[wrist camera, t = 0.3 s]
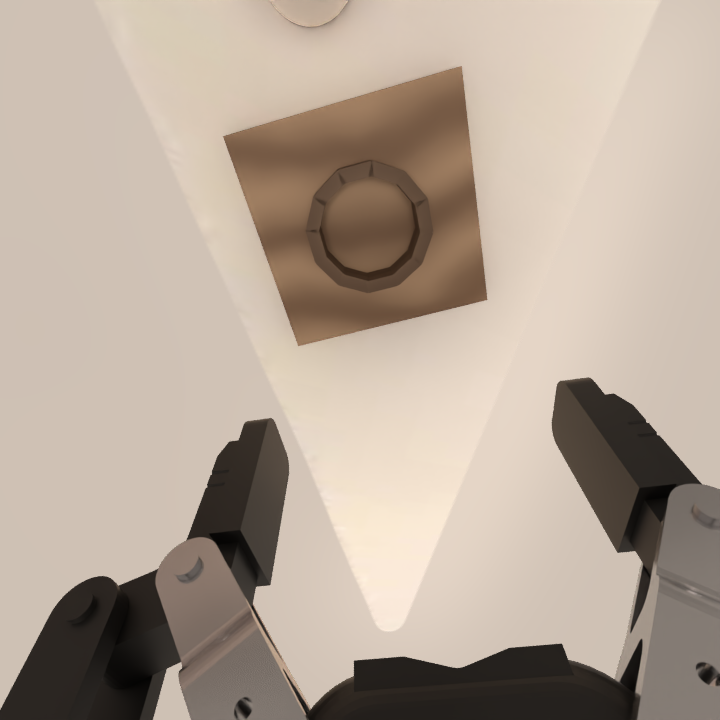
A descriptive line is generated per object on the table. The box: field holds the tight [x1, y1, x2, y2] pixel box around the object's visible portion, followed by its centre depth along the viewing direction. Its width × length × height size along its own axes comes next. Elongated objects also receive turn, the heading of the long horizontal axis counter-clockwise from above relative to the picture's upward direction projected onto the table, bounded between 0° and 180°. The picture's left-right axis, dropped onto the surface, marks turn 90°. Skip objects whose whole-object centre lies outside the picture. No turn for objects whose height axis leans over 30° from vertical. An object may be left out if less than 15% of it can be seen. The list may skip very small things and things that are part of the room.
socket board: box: [223, 66, 487, 346], centre depth 34 cm, size 18×18×4 cm
